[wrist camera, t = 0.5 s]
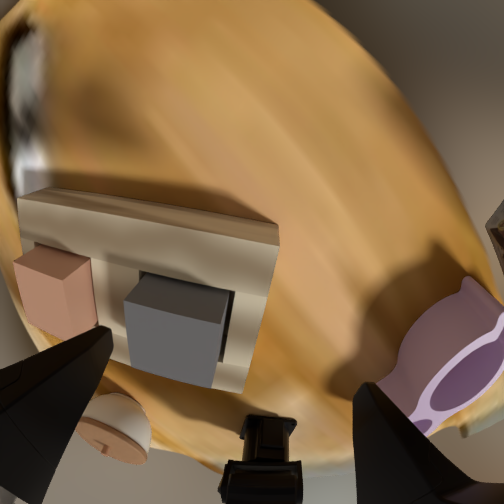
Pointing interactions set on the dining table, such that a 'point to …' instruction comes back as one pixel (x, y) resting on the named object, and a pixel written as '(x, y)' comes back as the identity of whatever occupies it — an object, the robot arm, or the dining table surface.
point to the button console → (160, 260)
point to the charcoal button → (175, 328)
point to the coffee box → (497, 232)
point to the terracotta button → (57, 291)
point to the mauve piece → (448, 357)
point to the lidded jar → (116, 428)
